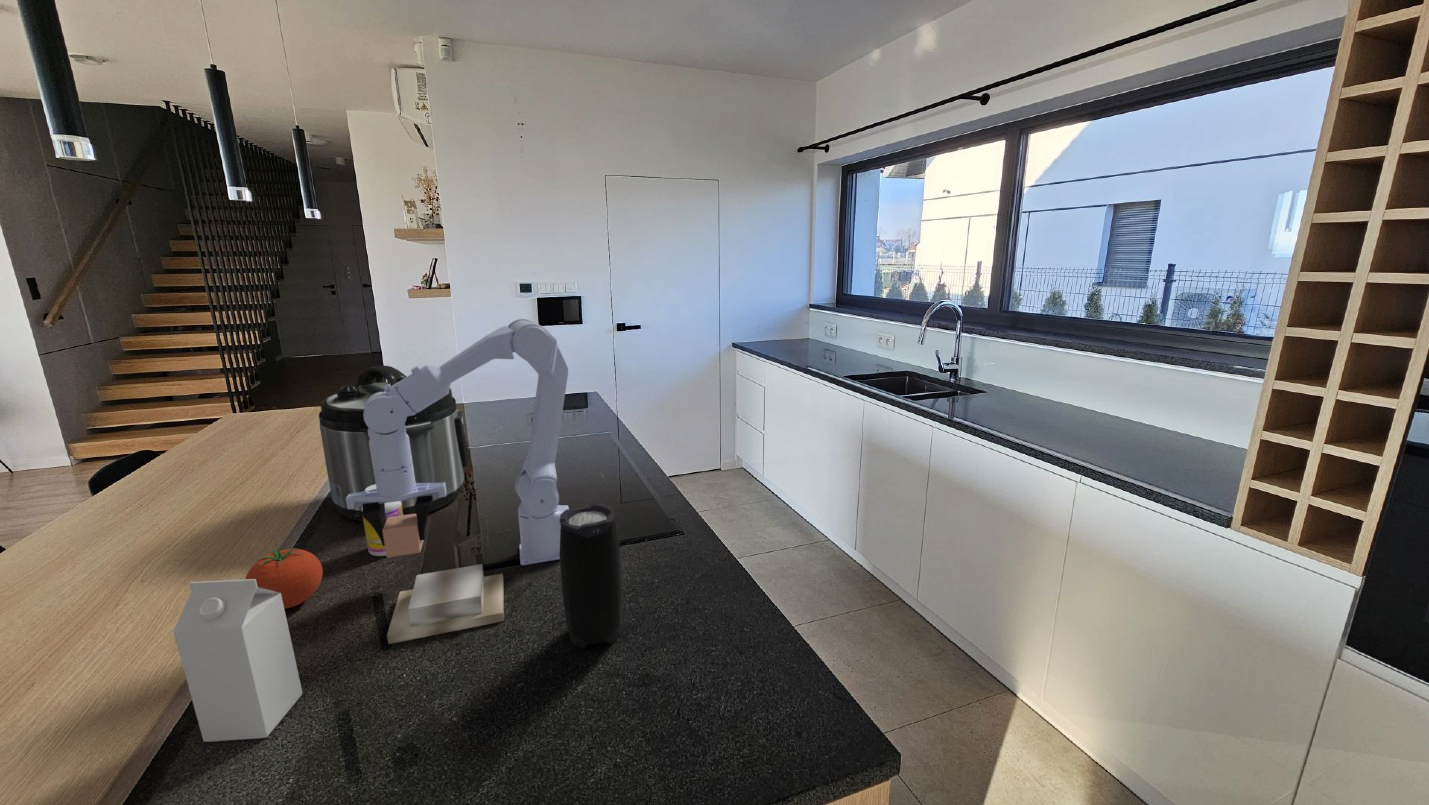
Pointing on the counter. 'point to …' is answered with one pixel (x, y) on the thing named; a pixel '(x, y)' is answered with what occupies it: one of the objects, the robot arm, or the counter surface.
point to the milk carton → (237, 659)
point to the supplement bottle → (371, 535)
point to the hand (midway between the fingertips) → (404, 540)
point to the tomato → (288, 574)
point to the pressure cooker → (429, 433)
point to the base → (448, 625)
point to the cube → (402, 535)
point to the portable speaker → (591, 574)
